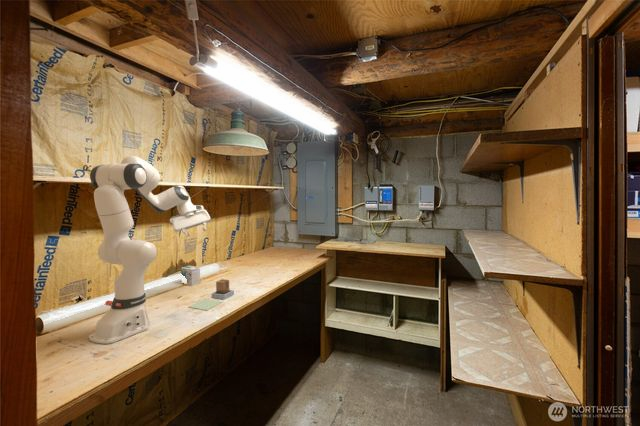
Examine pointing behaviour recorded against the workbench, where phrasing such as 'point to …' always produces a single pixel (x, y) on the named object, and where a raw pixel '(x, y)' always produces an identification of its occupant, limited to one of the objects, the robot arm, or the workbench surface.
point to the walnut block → (222, 286)
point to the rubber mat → (205, 304)
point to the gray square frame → (221, 296)
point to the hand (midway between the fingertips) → (196, 233)
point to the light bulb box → (191, 274)
